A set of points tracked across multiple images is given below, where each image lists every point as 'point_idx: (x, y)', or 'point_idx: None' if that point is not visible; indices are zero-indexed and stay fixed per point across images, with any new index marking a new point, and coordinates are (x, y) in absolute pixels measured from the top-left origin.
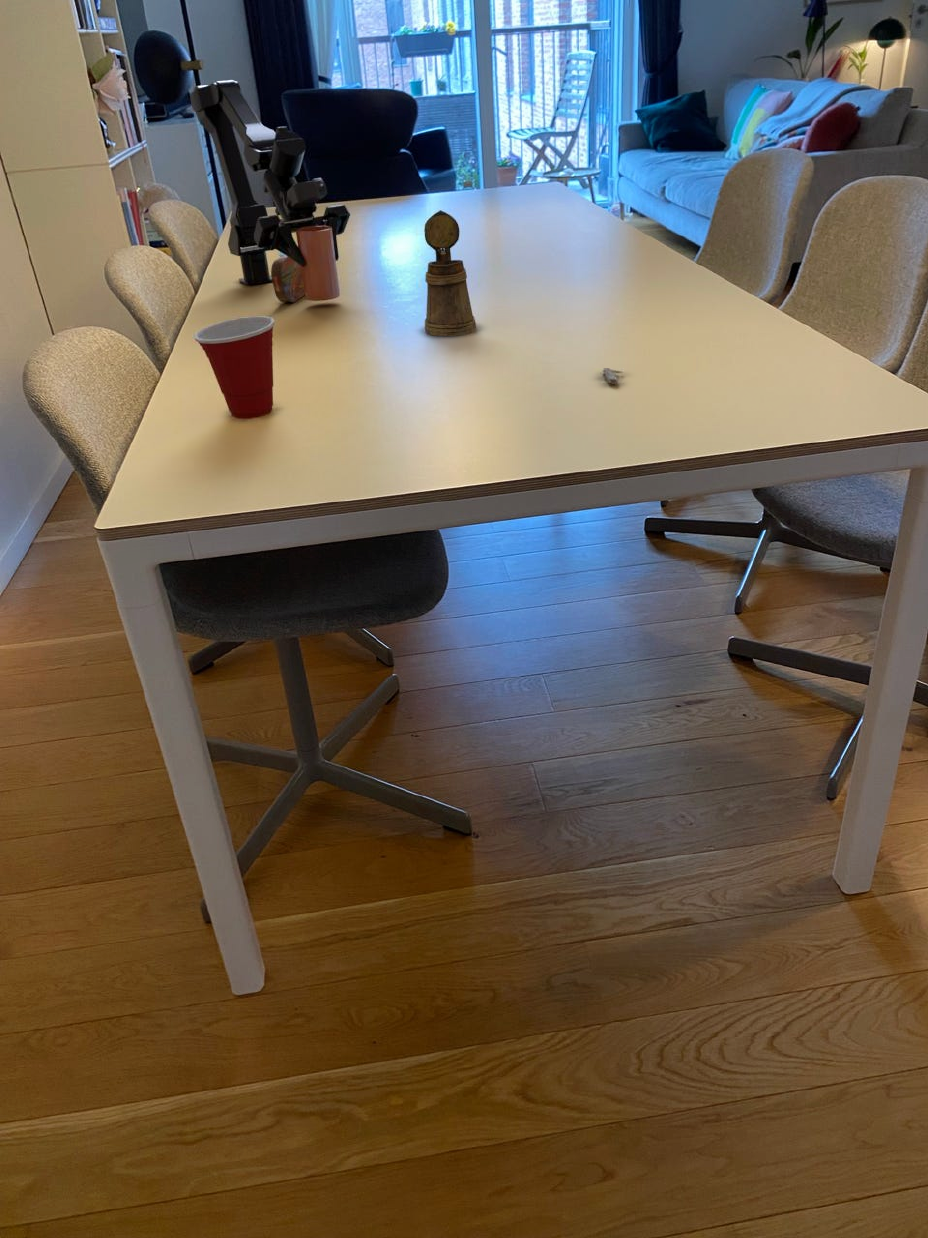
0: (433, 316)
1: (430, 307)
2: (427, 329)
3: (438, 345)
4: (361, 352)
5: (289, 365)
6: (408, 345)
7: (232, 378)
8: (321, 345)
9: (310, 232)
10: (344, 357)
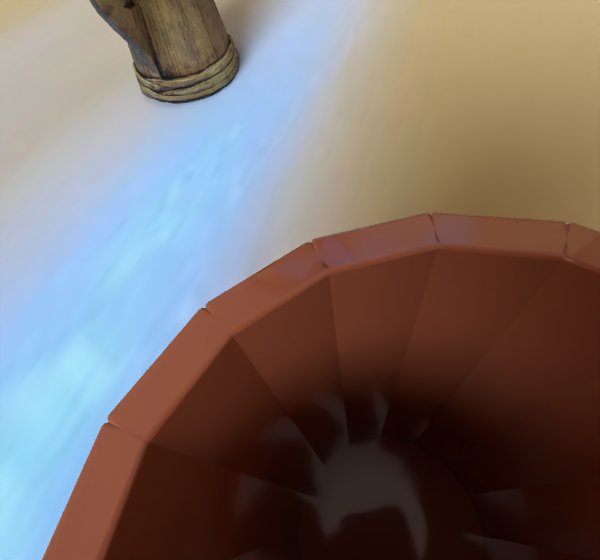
0: (221, 19)
1: (215, 6)
2: (236, 58)
3: (257, 22)
4: (389, 25)
5: (535, 5)
6: (299, 32)
7: None
8: (461, 72)
9: (580, 227)
10: (425, 14)
